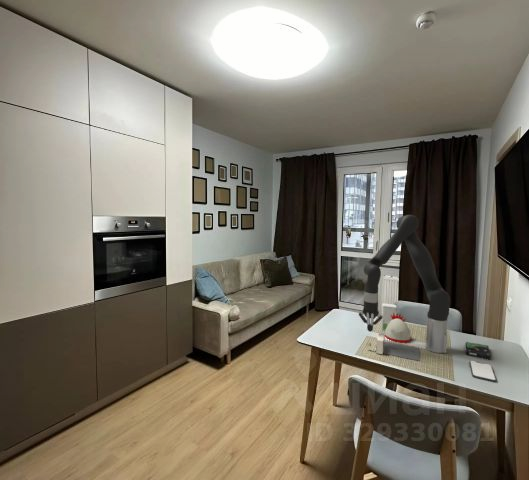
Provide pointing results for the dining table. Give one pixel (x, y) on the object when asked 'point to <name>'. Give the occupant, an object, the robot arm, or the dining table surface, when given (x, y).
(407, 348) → the mat
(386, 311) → the skincare box
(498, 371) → the dining table surface
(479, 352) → the disk drive
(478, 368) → the phone case
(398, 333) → the kitchen timer
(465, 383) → the dining table surface
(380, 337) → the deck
